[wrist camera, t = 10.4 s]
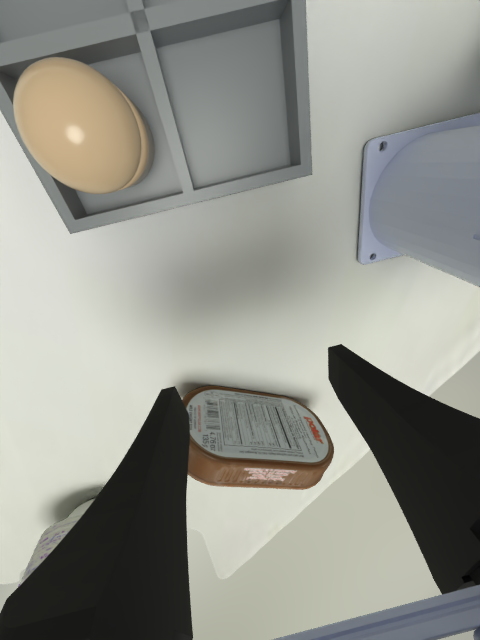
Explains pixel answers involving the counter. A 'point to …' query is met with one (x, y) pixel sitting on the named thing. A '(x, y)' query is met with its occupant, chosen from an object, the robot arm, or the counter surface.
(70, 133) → the egg
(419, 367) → the counter surface
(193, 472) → the tin
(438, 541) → the robot arm
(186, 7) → the grey compartment tray
